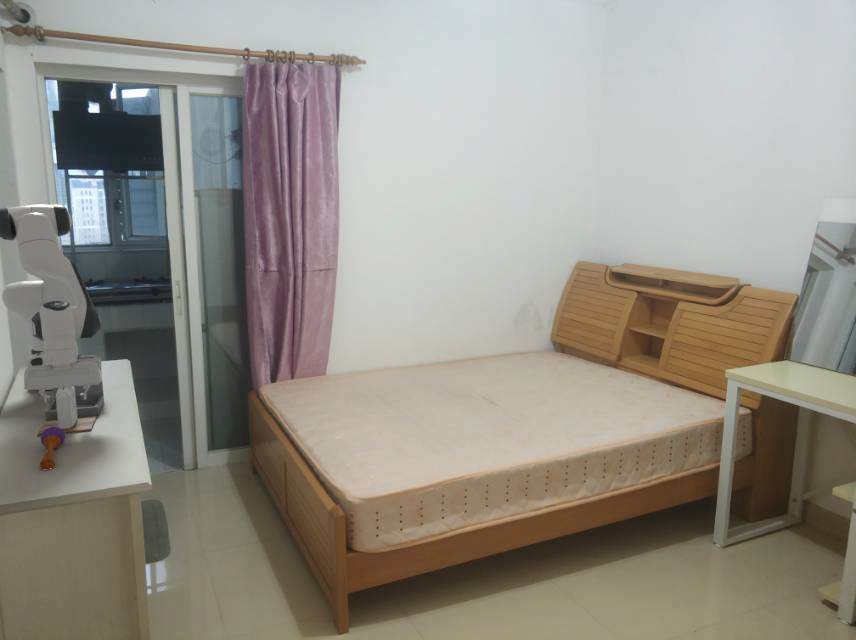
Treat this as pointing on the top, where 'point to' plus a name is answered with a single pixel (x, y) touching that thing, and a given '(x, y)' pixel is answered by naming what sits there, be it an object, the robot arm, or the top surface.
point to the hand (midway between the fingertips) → (66, 400)
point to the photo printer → (66, 407)
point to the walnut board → (79, 426)
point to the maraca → (51, 445)
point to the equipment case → (81, 401)
